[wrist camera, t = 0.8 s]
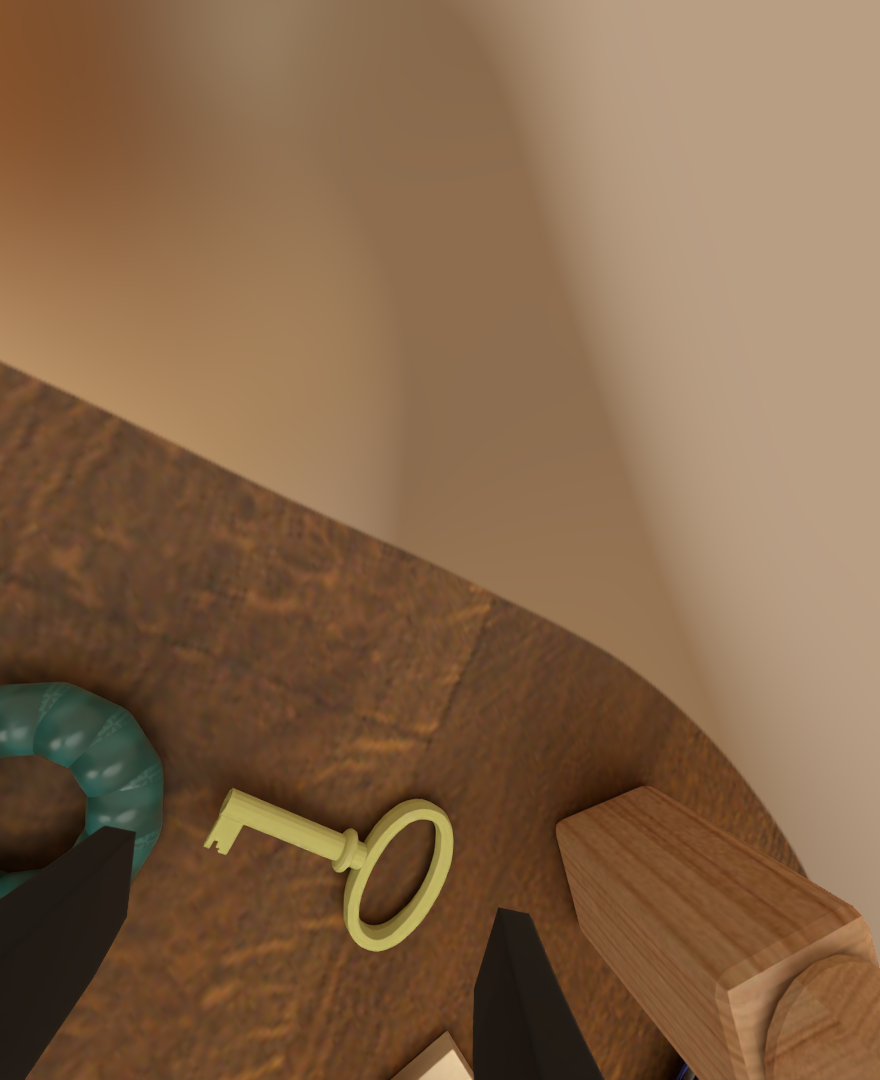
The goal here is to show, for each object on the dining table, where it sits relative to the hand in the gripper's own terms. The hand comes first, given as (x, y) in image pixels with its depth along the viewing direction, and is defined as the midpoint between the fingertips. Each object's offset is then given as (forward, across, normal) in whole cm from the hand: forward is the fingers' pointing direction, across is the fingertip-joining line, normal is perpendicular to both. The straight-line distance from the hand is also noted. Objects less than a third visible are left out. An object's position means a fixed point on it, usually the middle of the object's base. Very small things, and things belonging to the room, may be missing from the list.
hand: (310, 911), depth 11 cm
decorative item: (+19, -15, +12) cm, 27 cm away
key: (+15, 0, +12) cm, 20 cm away
